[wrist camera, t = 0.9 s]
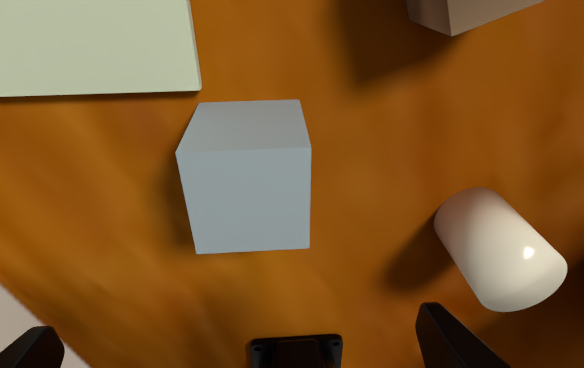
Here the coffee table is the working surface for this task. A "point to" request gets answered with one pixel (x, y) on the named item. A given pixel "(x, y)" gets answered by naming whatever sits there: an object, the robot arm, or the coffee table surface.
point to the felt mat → (97, 47)
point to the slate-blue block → (247, 176)
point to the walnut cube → (461, 13)
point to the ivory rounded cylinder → (498, 251)
